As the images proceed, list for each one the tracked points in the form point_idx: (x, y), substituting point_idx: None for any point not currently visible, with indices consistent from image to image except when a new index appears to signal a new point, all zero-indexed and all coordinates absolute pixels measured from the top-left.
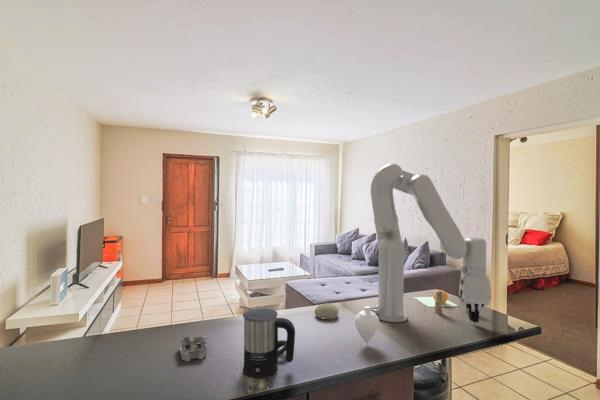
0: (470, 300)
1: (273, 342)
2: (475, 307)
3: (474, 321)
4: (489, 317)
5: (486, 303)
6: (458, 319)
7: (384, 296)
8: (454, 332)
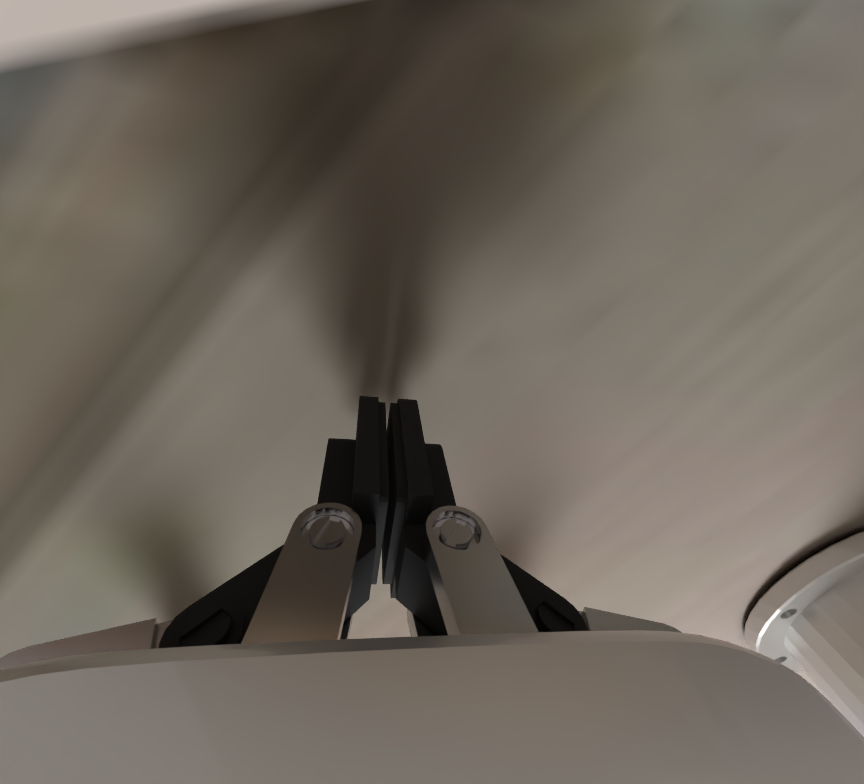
0: (765, 750)
1: None
2: (348, 601)
3: (417, 406)
4: (45, 560)
5: (102, 655)
6: None
7: None
8: (758, 276)
